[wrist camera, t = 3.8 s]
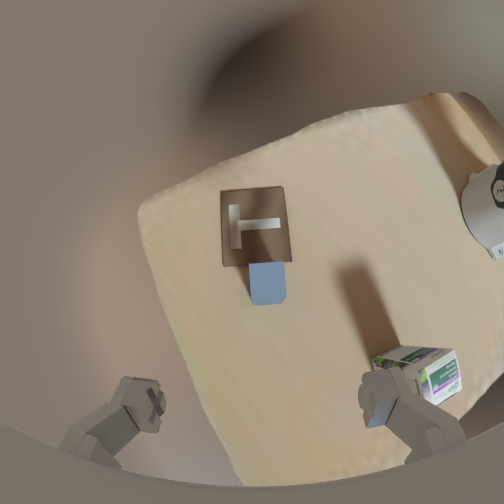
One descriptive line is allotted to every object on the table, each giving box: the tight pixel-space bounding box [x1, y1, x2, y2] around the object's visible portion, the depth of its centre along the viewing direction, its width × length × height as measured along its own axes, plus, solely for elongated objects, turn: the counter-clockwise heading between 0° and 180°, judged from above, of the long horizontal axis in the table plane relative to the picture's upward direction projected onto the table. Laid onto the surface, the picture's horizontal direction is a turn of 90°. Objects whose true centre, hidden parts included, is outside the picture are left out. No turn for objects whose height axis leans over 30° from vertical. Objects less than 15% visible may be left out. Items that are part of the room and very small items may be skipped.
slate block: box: [249, 261, 287, 305], centre depth 37 cm, size 4×4×9 cm
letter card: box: [221, 188, 292, 267], centre depth 43 cm, size 10×12×1 cm
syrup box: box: [371, 345, 462, 406], centre depth 30 cm, size 6×6×14 cm
